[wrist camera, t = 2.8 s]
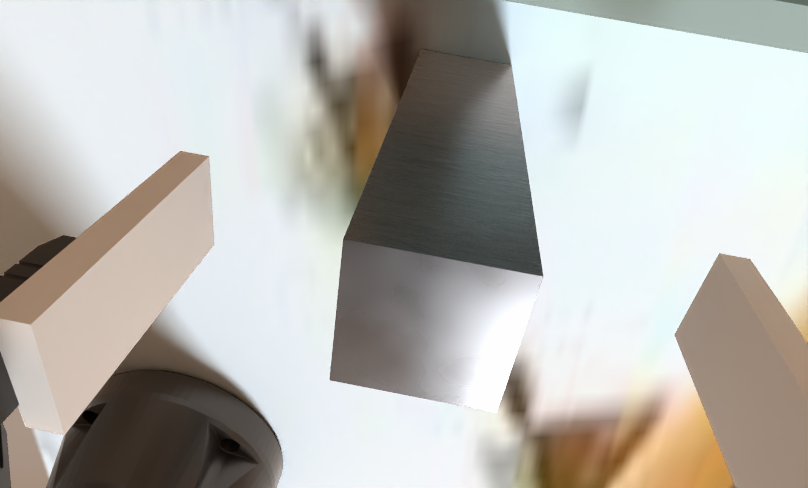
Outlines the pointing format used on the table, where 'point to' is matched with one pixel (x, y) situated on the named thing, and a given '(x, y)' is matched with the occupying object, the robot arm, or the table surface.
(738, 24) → the grey-green open box
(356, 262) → the brushed steel bar
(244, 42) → the table surface
